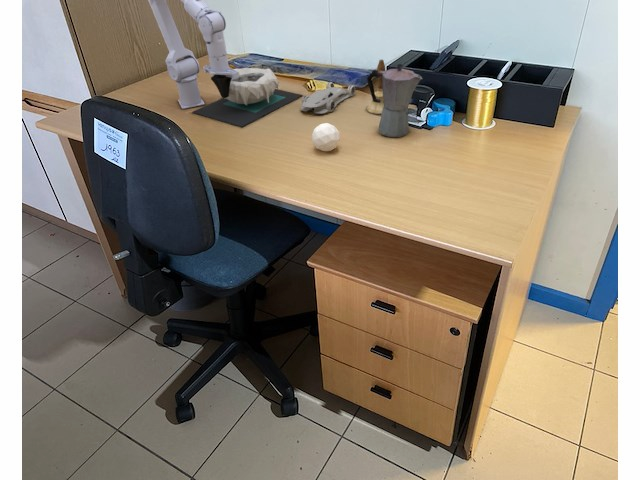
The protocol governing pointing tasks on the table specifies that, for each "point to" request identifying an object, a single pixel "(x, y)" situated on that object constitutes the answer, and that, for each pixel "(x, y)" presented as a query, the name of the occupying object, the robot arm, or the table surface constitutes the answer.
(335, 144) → the ball
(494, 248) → the table surface
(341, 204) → the table surface
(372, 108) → the hand bell
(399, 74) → the moka pot
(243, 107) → the mat
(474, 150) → the table surface
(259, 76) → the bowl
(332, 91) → the car model
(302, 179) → the table surface
